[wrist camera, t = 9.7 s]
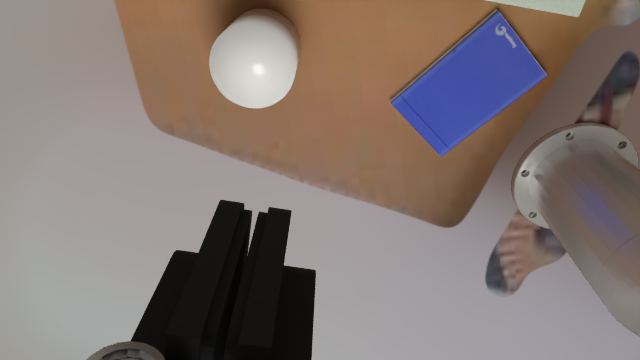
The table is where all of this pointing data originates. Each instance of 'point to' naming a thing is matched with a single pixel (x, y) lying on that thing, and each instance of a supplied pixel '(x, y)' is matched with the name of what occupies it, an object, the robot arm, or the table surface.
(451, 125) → the blue book
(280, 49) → the white round canister
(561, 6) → the lid
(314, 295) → the robot arm
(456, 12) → the table surface
